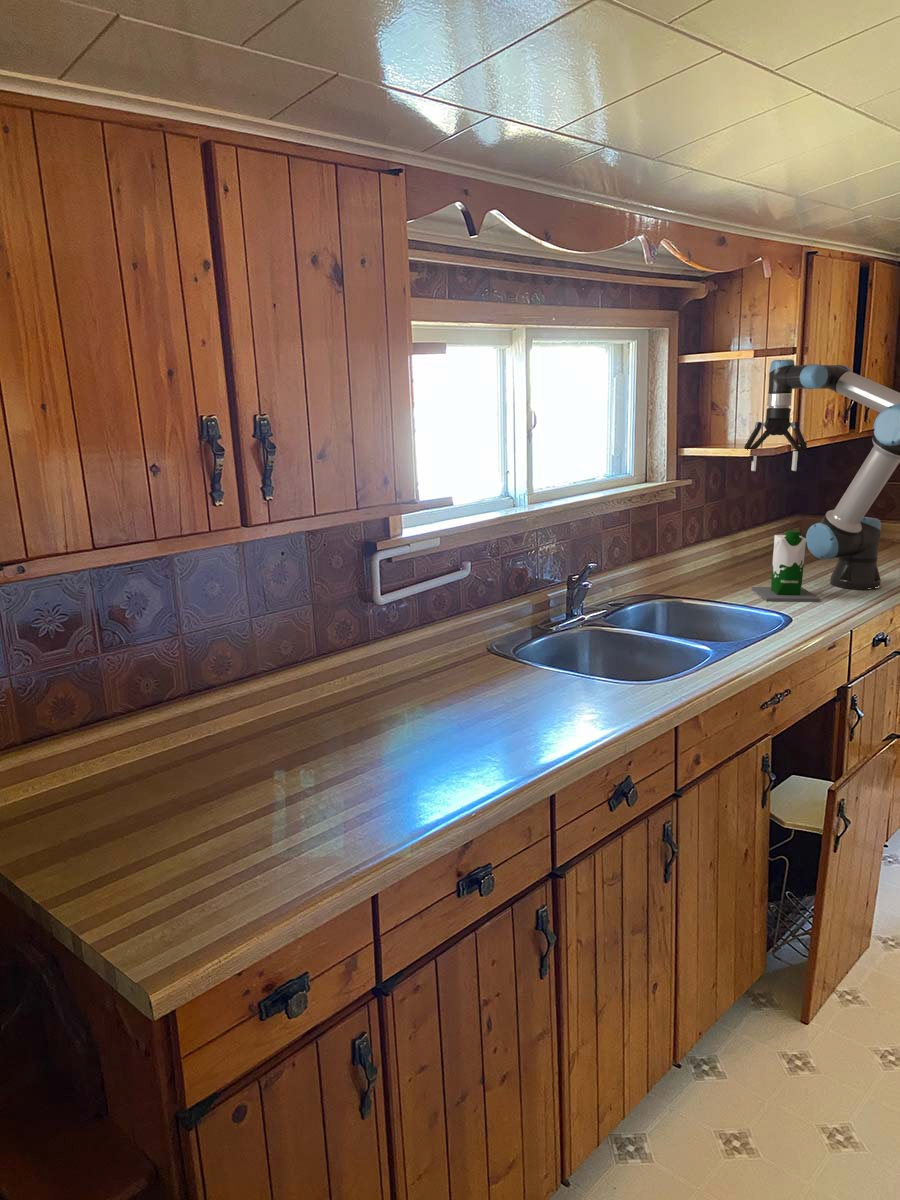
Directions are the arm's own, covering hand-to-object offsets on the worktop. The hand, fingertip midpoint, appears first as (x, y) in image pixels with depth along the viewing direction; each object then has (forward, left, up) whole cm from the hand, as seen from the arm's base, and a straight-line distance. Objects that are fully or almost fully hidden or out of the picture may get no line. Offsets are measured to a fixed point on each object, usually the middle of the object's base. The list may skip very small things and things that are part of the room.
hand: (773, 470), depth 287 cm
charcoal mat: (+3, +31, -37) cm, 48 cm away
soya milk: (+3, +31, -36) cm, 48 cm away
